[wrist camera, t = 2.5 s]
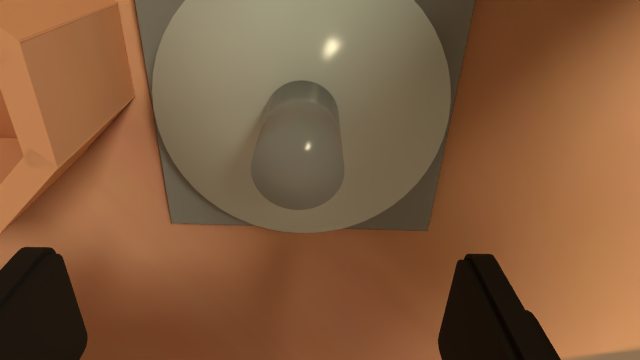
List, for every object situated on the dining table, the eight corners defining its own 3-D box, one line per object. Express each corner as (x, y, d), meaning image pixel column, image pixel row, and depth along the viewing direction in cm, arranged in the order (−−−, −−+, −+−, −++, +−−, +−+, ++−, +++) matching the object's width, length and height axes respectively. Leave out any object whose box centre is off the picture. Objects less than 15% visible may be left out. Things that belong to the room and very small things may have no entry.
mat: (482, -60, 17) (487, -59, 17) (425, 224, 24) (427, 231, 24) (128, -76, 17) (122, -76, 16) (174, 216, 24) (171, 223, 24)
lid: (472, -45, 17) (542, -31, 12) (419, 223, 24) (449, 310, 18) (137, -60, 17) (53, -53, 11) (179, 215, 23) (138, 302, 18)
